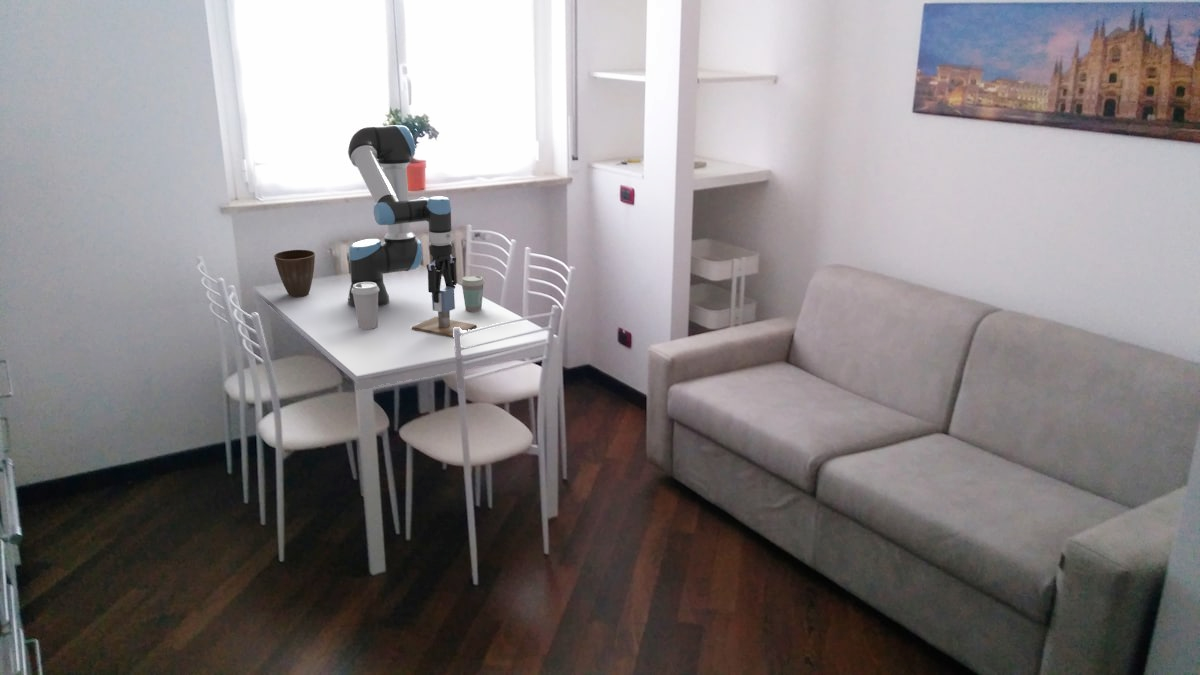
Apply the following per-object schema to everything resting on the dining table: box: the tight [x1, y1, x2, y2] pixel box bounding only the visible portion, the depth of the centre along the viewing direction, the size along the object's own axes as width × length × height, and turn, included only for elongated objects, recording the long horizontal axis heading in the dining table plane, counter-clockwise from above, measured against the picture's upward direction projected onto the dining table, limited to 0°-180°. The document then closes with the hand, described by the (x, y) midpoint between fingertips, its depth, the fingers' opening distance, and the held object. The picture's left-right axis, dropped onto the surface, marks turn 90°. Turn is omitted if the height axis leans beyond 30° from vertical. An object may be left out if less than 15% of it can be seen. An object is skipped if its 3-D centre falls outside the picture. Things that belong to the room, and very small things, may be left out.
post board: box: [411, 310, 478, 338], centre depth 319 cm, size 18×13×7 cm
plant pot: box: [273, 249, 316, 298], centre depth 352 cm, size 15×15×16 cm
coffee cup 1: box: [351, 282, 380, 330], centre depth 318 cm, size 10×10×15 cm
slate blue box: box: [431, 285, 456, 313], centre depth 316 cm, size 5×5×8 cm
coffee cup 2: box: [460, 275, 485, 312], centre depth 339 cm, size 8×9×12 cm
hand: (443, 308), depth 317 cm, fingers closed on slate blue box, 5 cm apart
